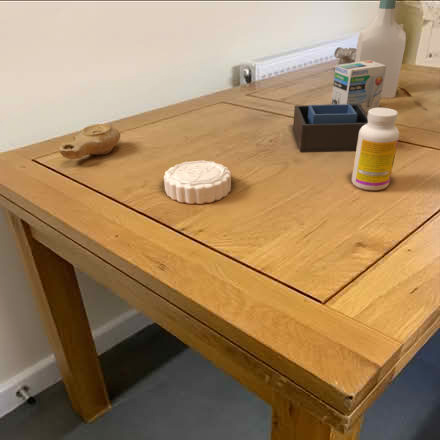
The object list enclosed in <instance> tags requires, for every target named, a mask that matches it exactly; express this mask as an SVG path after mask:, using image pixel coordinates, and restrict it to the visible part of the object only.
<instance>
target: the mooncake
mask: <svg viewBox="0 0 440 440" xmlns="http://www.w3.org/2000/svg"><path fill="white" fill-rule="evenodd" d="M163 183H164V192H166V196H167V197H170V199H171V200H173V201H177V202H179V203H183V204H184V203H186V204H188V205H194V204H196V205H202V204H205V203H208V204H210V203H213V202H215V201H220V200H222V198H225V197H227V196H228V194H229V193H230V192H231V190H232V189H231V188H232V172H231V171H230V170H229V168H228V167H227V166H224V165H223V164H221V163H217V162H214V161H213V160H211V161H210V160H209V161H208V160H204V159H202V160H193V161H183V162H181V163H178V164H175V165H174V166H171V167H169V168H168V170H166V171H165V172H164V175H163Z"/></svg>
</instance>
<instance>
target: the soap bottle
mask: <svg viewBox="0 0 440 440" xmlns="http://www.w3.org/2000/svg"><path fill="white" fill-rule="evenodd" d="M396 4H397V0H379V5H378V10H377V14H376V17H375V18H374V20H373V21H372V22H371V23H370V25H368V27H366V28H365V29H364V30H362V31H360V32H359V35H358V38H357V44H356V49H357V50H356V57H355V62H361V61H368V60H371V61H374V62H376V63H380V64H383V65H386V71H385V76H384V81H383V87H382V92H381V97H380V99H393V98H395V97H396V95H397V89H398V84H399V79H400V74H401V69H402V63H403V58H404V54H405V50H406V42H407V40H406V39H407V35H406V32H405V30H404V29H403V28H401V27H400V25H399V24H398V22H396V18H395V17H396V16H395V15H396V13H395V11H396Z"/></svg>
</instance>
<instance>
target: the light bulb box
mask: <svg viewBox="0 0 440 440" xmlns="http://www.w3.org/2000/svg"><path fill="white" fill-rule="evenodd" d="M385 71H386V65H383V64H380V63H376V62H374V61H371V60H368V61H361V62H354V63H347V64H339V65H337V64H335V68H334V75H333V76H334V77H333V84H332V86H333V87H332V94H331V101H330V105H336V104H360V105H361V107H362V108H363V109H364V111H365V112H366V113H367V114H368V111H369V110H370V109H372V108H380V102H381V98H380V97H381V92H382V87H383V81H384V76H385Z"/></svg>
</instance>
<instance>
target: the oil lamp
mask: <svg viewBox="0 0 440 440" xmlns="http://www.w3.org/2000/svg"><path fill="white" fill-rule="evenodd" d="M72 137H73V140H72V141H69V142H62V143H60V146H59V147H58V151H59V153H60V155H61V156H62V157H63V158H66V159H70V160H75V159H81V158H83V157H85V156H89V155H95V156H100V155H106V154H109V153H111V152H112V151H113V149H114V148H115V147H116V146H117V145H118V143H119V142H120V139H121V131H119V129H117V128H116V127H115V126H113V125H111V124H106V123H95V124H92V125H88V126H86V127H84V128H82V130H81V132H79V133H78V134H75V135H73V136H72Z"/></svg>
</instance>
